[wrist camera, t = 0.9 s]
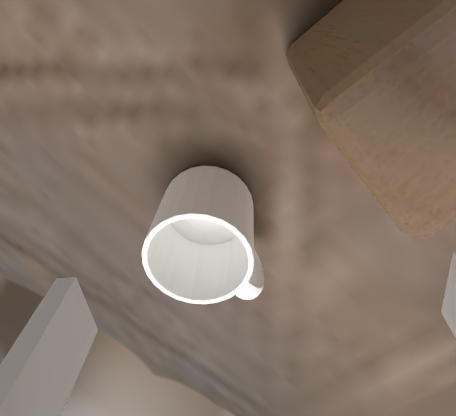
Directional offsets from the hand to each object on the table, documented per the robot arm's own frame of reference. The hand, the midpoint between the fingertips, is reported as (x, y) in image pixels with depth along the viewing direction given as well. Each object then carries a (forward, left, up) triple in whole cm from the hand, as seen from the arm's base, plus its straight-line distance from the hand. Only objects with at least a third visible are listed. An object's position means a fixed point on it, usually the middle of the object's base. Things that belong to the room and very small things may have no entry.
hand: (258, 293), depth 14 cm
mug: (+9, -9, -27) cm, 30 cm away
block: (0, +10, -27) cm, 29 cm away
